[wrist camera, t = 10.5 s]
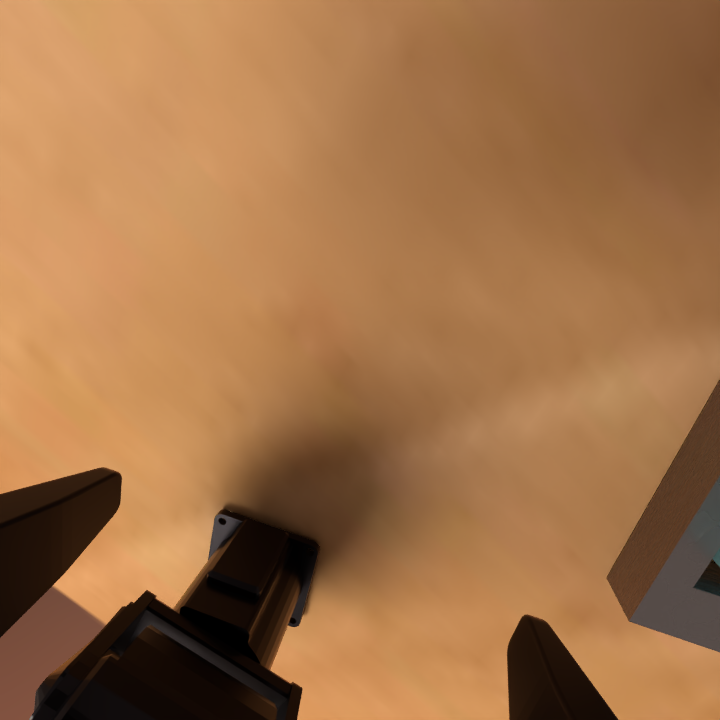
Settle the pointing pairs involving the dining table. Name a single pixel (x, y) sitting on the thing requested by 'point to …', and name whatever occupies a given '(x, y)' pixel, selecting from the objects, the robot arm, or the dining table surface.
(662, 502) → the plate with rectangular holes
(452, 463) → the dining table surface
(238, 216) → the dining table surface
